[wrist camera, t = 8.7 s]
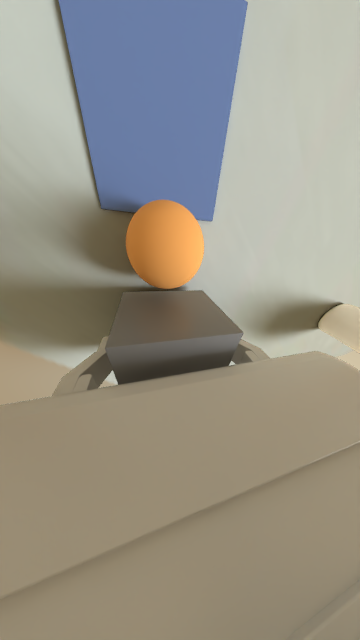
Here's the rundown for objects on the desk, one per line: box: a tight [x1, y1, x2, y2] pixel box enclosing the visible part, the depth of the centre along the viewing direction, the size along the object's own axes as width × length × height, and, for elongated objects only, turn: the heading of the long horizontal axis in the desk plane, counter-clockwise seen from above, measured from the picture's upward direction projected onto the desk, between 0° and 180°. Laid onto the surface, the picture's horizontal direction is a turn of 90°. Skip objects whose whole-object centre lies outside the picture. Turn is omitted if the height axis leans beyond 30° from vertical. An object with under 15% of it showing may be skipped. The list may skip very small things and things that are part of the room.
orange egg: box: [126, 200, 204, 289], centre depth 9 cm, size 5×5×5 cm
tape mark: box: [59, 0, 248, 221], centre depth 7 cm, size 8×8×1 cm
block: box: [105, 290, 243, 385], centre depth 11 cm, size 7×7×6 cm
